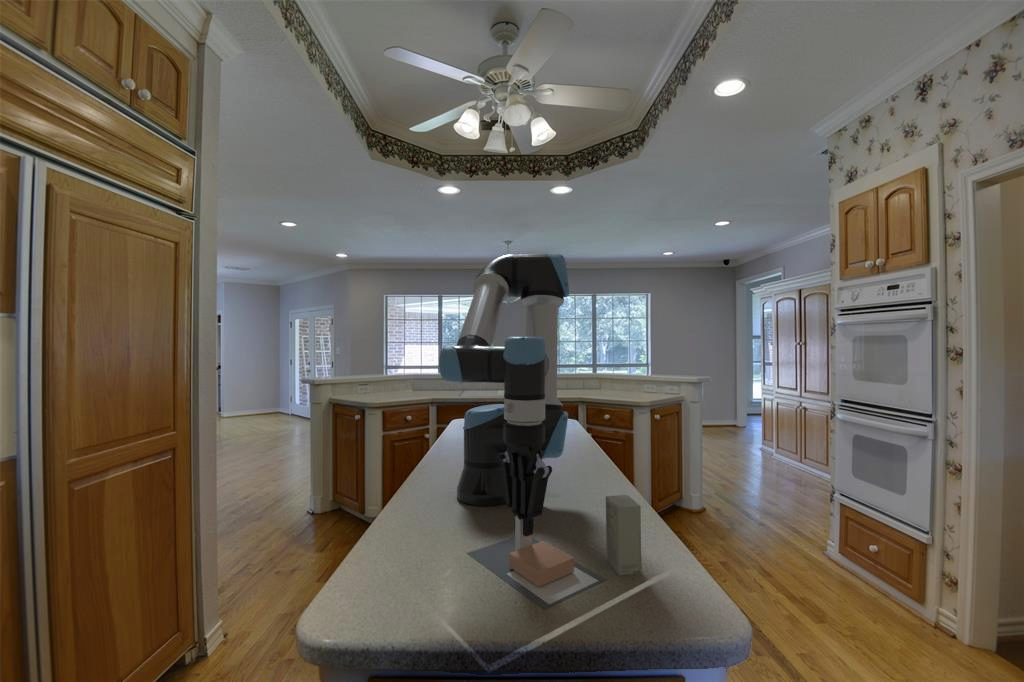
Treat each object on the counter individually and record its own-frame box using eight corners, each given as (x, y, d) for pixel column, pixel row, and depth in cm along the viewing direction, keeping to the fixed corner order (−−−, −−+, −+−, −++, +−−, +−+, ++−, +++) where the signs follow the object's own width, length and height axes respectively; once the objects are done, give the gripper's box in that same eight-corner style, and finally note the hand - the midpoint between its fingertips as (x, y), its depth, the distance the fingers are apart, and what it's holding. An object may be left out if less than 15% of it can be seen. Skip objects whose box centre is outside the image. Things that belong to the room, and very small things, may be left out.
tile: (509, 553, 79) (538, 572, 73) (543, 540, 84) (574, 557, 78) (509, 568, 79) (538, 588, 73) (543, 554, 84) (574, 572, 78)
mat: (466, 556, 85) (466, 552, 85) (524, 536, 94) (524, 533, 94) (544, 613, 68) (544, 609, 68) (606, 583, 76) (606, 579, 76)
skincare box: (642, 576, 78) (642, 506, 78) (617, 578, 77) (618, 508, 77) (627, 559, 84) (627, 494, 84) (604, 560, 84) (604, 495, 84)
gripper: (487, 418, 85) (486, 543, 85) (530, 429, 75) (529, 572, 75) (518, 414, 90) (517, 533, 90) (564, 424, 79) (563, 559, 79)
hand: (523, 550), depth 82 cm, fingers closed
